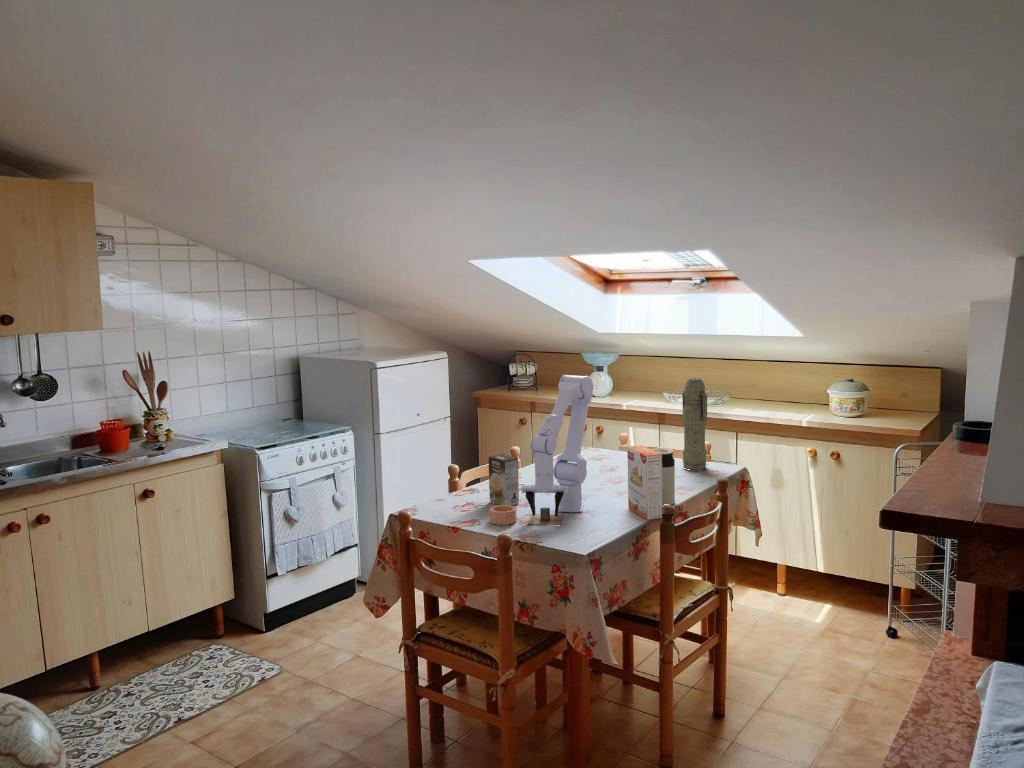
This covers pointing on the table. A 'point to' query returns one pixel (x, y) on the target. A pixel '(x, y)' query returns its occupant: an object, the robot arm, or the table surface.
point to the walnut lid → (545, 518)
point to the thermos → (694, 424)
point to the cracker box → (645, 482)
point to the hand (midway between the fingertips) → (545, 515)
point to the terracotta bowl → (503, 514)
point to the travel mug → (667, 475)
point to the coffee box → (503, 479)
